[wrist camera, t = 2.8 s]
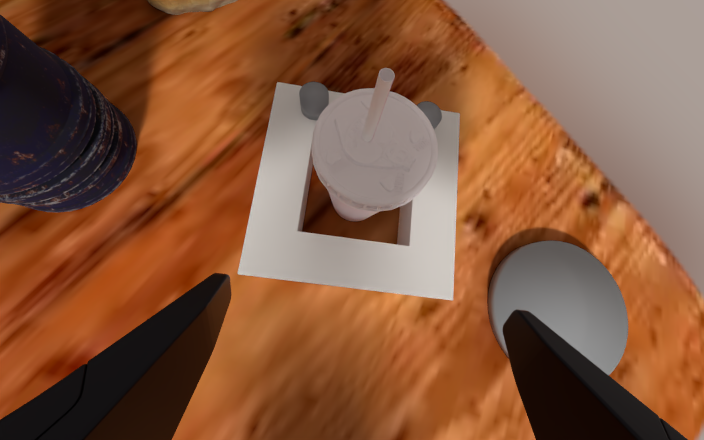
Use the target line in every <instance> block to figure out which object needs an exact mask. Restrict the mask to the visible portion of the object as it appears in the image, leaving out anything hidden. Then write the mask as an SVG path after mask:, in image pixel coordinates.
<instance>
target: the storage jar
mask: <svg viewBox="0 0 704 440" xmlns="http://www.w3.org/2000/svg"><path fill="white" fill-rule="evenodd" d="M135 155H136V137H135V132H134V130H133V127H132V125H131V123H130V122H129V120H128V118H127V117H126V116H125V115H124V114H123V113H122V112H121V111H120V110H119V109H118V108H116V107H115V106H114V105H113V104H111V103H110V102H109V101H108V100H107V99H106V98H105V97H104V96H103V94H102V93H101V92H100V91H99V90H98V89H97V88H96V87H95V86H93V85H92V84H91V83H90V82H89V81H88V80H86V79H85V78H84V77H83V76H81V75H80V74H79V73H78V72H77V70H76V69H75V68H74V67H72V66H71V65H70V64H68V63H67V62H66V61H64V60H62V59H60V58H59V57H58V56H56V55H55V54H53V53H51V52H50V51H48V50H46V49H44V48H41V47H39V46H37V45H36V44H35V43H34V42H33V41H31V40H30V39H29V38H28V37H27V36H25V35H24V34H23V33H22V32H21V31H19V30H18V29H17V28H16V27H15V26H13V25H12V24H11V23H10V22H9V21H7V20H6V19H5V18H4V17H3V16H1V15H0V202H2V203H7V204H17V205H22V206H25V207H28V208H31V209H35V210H40V211H46V212H67V211H73V210H77V209H82V208H84V207H87V206H90V205H92V204H94V203H96V202H98V201H100V200H102V199H103V198H105V197H106V196H108V195H109V194H110V193H112V192H113V191H114V190H115V189H116V188H117V187H118V186H119V185H120V184H121V183H122V182H123V180H124V179H125V178H126V176H127V175H128V173H129V171H130V170H131V167H132V165H133V162H134V160H135Z"/></svg>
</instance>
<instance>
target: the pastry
mask: <svg viewBox="0 0 704 440" xmlns="http://www.w3.org/2000/svg"><path fill="white" fill-rule="evenodd" d="M235 1H237V0H148V2H149V3H150V4H151V5H152V6H154V7H155V8H157V9H159V10H161V11H163V12H166V13H168V14H176V15H179V14H183V13H186V12H200V11H202V12H209V11H213V10H214V9H215V8H217V7H222V6H224V5H226V4H229V3H232V2H235Z"/></svg>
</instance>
